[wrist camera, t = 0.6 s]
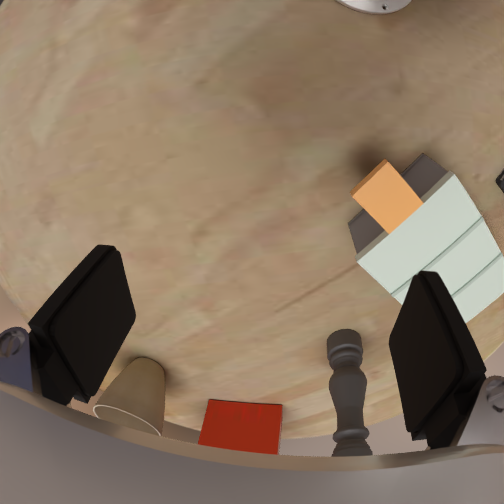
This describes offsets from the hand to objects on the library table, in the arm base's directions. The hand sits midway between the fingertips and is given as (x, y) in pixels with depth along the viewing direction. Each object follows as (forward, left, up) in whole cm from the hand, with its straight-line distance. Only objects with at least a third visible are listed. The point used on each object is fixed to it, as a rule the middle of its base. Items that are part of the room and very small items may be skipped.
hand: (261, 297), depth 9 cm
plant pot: (+56, +10, -30) cm, 65 cm away
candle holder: (+19, +31, -30) cm, 48 cm away
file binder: (+52, +35, -30) cm, 70 cm away
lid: (-3, +21, -22) cm, 31 cm away
